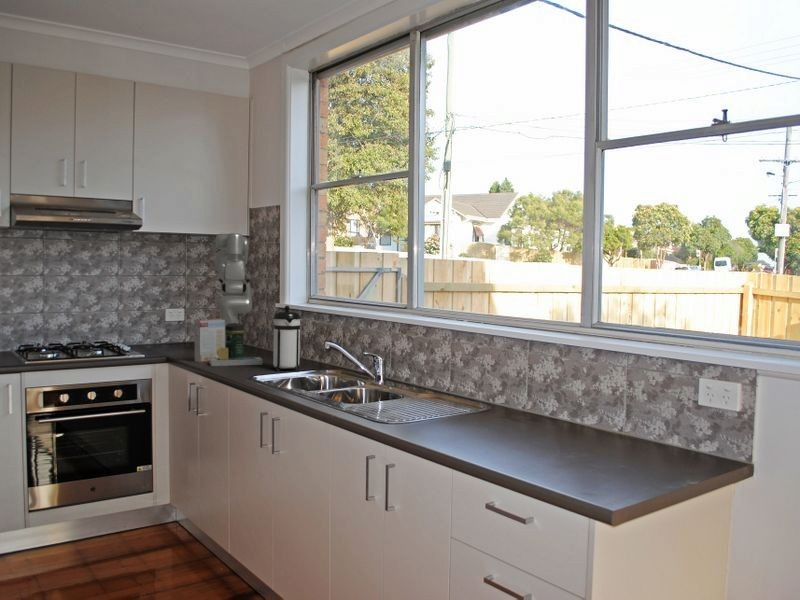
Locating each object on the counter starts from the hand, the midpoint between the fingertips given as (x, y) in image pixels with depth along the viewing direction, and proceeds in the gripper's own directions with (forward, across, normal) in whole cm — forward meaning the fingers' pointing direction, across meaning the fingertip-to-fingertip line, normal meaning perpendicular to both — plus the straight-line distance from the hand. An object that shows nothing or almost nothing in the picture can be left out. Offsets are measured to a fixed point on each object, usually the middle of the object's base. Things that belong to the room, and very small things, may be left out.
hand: (234, 292), depth 363 cm
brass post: (+35, +7, +14) cm, 38 cm away
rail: (+35, +1, +14) cm, 38 cm away
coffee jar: (+35, -1, -6) cm, 35 cm away
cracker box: (+35, +12, -1) cm, 37 cm away
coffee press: (+36, -19, +34) cm, 53 cm away
